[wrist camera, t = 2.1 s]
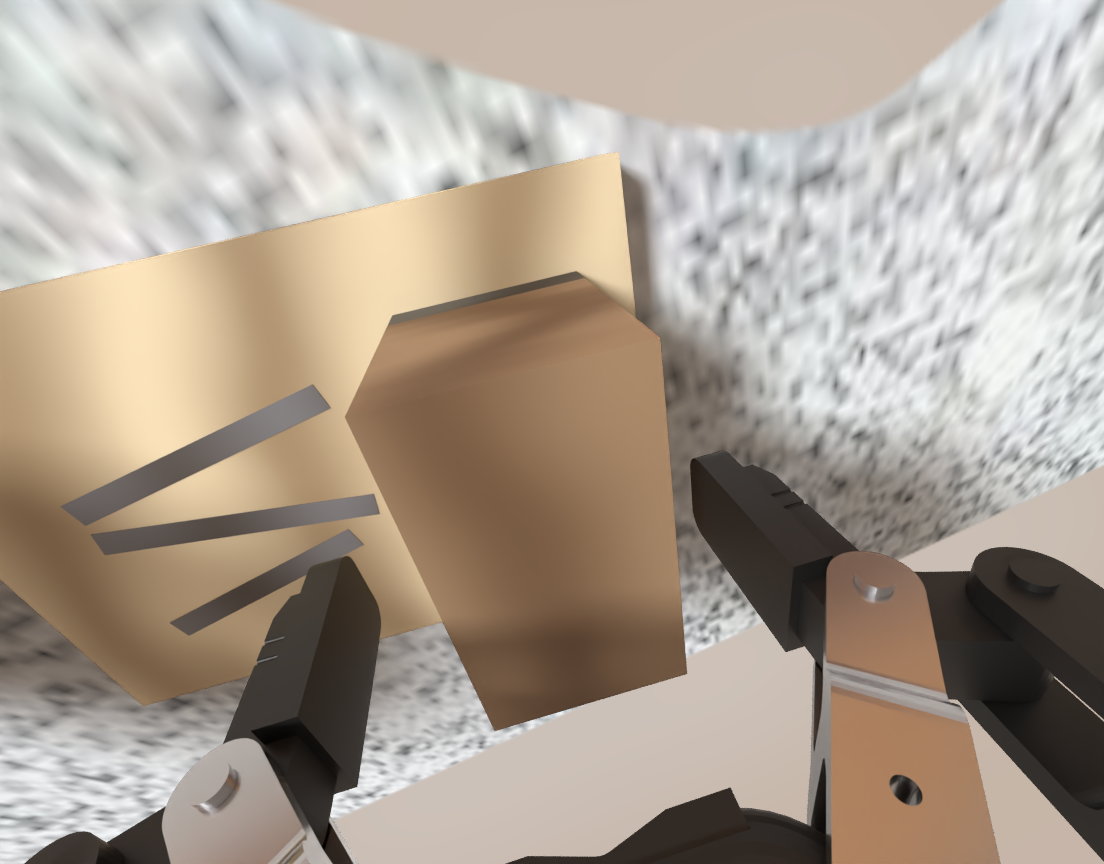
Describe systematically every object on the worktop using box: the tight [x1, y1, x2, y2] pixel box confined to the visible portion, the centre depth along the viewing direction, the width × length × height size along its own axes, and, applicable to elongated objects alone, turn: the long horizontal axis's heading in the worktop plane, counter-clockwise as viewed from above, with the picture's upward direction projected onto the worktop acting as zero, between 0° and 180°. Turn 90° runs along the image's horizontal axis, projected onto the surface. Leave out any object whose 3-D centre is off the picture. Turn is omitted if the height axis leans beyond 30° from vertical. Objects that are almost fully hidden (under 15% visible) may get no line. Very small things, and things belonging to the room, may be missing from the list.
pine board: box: [0, 152, 636, 706], centre depth 15 cm, size 20×14×2 cm
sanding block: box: [345, 271, 687, 731], centre depth 12 cm, size 5×9×6 cm, turn 11°
